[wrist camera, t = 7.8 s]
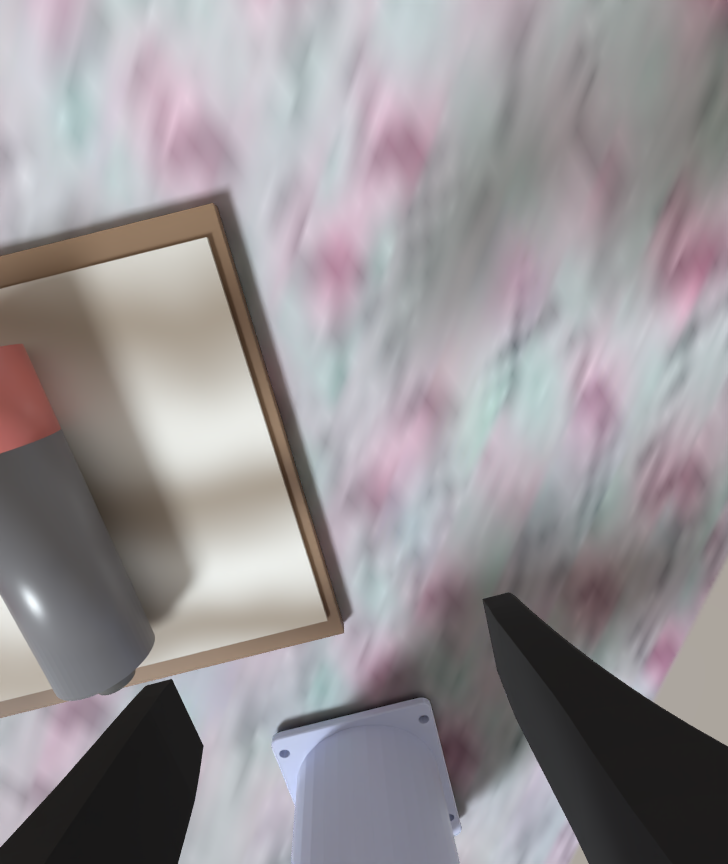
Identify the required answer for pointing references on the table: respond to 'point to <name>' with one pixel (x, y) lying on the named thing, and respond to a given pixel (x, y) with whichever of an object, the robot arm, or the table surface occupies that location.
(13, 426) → the marker
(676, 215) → the table surface
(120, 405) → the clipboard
